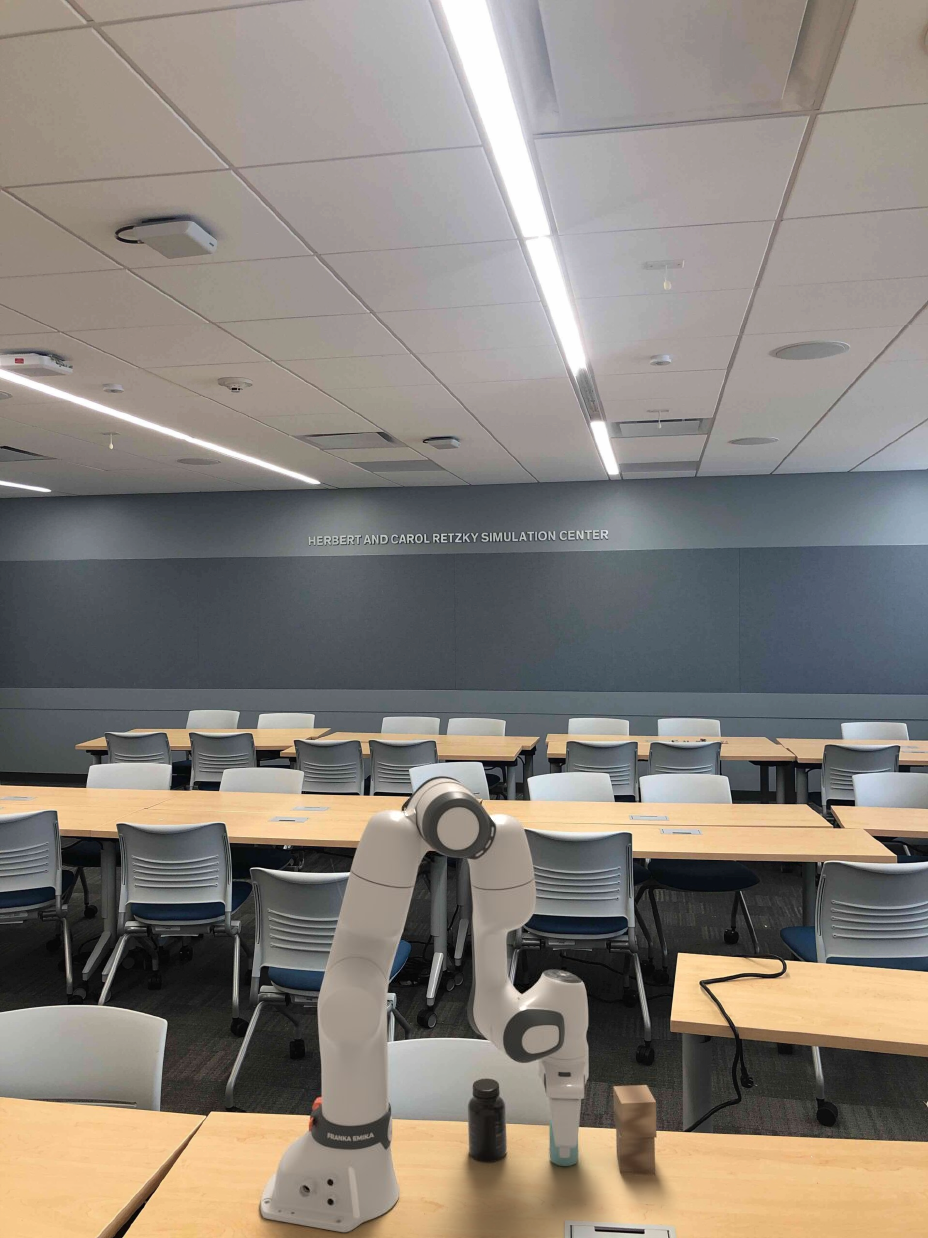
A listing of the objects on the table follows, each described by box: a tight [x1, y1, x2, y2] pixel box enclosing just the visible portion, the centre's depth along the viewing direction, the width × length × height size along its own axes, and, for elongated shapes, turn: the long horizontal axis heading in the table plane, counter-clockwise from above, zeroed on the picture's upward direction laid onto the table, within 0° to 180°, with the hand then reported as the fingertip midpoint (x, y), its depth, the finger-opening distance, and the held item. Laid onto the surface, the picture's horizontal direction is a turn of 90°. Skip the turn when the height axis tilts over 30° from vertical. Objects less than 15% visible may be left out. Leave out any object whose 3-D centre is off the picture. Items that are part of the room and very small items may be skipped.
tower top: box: [612, 1084, 657, 1139], centre depth 156 cm, size 6×6×6 cm
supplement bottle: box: [467, 1078, 508, 1163], centre depth 159 cm, size 7×7×12 cm
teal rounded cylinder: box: [548, 1117, 579, 1167], centre depth 156 cm, size 5×5×6 cm
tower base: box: [615, 1126, 656, 1175], centre depth 155 cm, size 6×6×6 cm
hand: (563, 1145), depth 156 cm, fingers closed on teal rounded cylinder, 5 cm apart
